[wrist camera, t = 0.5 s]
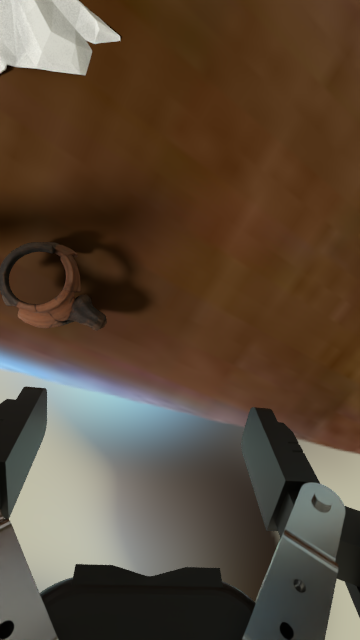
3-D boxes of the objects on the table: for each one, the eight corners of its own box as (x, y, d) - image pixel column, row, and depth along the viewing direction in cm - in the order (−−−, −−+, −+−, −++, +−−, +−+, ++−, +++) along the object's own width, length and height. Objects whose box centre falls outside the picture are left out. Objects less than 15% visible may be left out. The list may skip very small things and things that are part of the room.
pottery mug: (6, 310, 41) (-30, 297, 32) (45, 243, 42) (20, 215, 34) (95, 354, 41) (81, 353, 33) (131, 287, 42) (126, 269, 34)
